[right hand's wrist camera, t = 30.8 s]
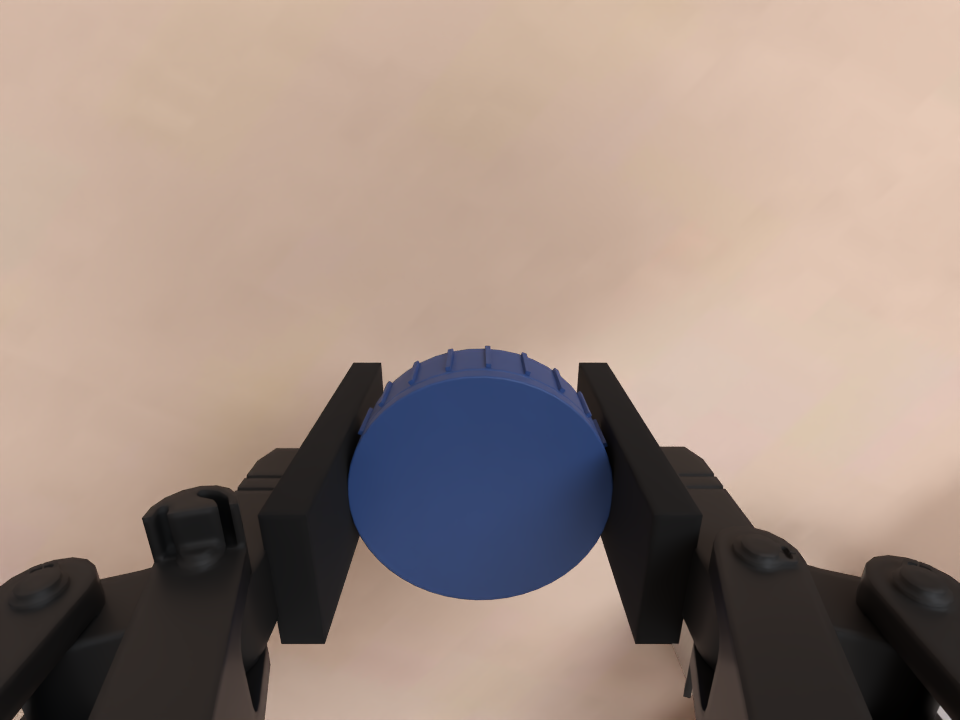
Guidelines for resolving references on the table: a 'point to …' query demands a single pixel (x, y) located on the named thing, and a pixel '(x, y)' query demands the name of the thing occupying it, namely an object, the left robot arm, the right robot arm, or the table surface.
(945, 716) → the left robot arm
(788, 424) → the table surface
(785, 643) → the right robot arm
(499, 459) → the lid
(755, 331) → the table surface
